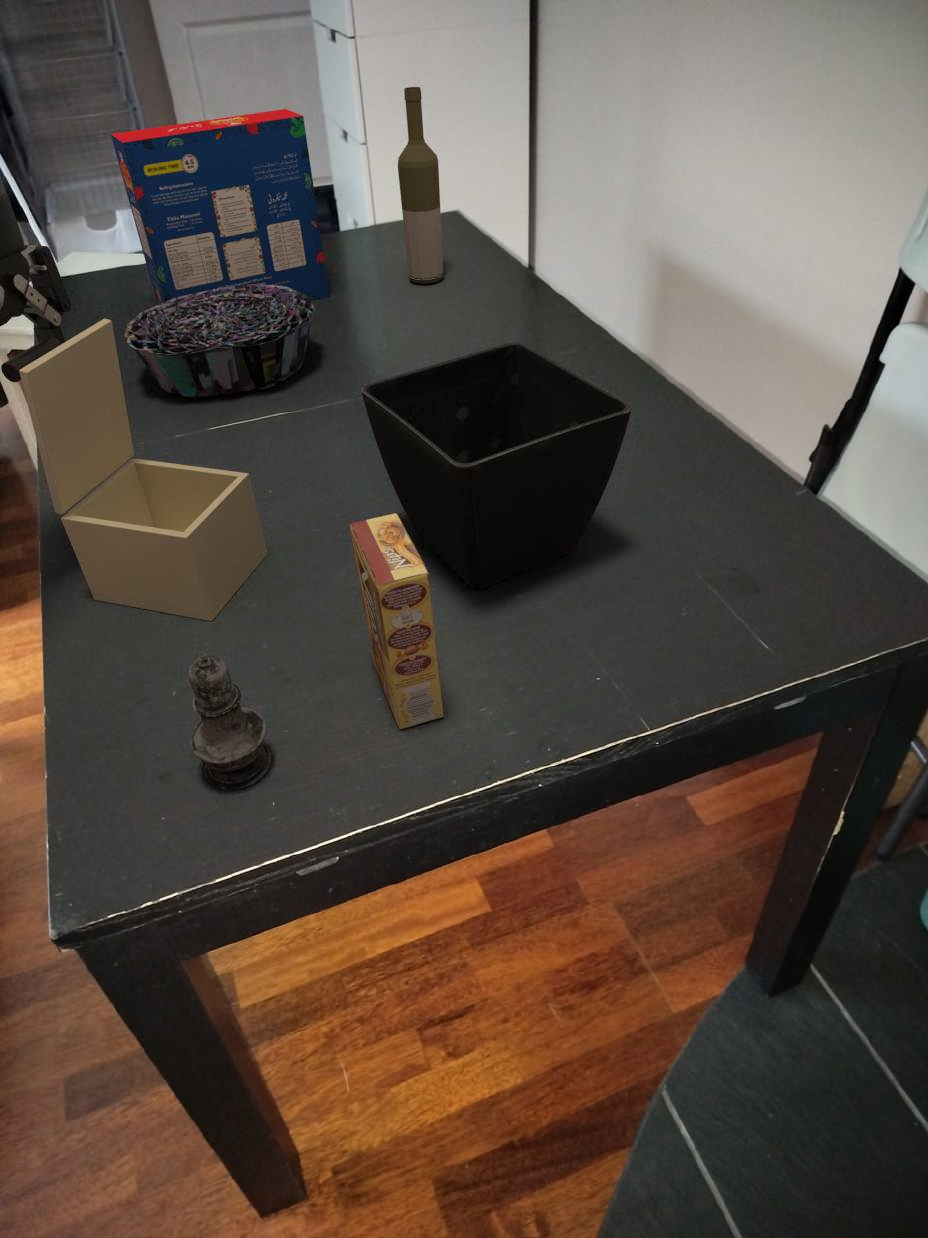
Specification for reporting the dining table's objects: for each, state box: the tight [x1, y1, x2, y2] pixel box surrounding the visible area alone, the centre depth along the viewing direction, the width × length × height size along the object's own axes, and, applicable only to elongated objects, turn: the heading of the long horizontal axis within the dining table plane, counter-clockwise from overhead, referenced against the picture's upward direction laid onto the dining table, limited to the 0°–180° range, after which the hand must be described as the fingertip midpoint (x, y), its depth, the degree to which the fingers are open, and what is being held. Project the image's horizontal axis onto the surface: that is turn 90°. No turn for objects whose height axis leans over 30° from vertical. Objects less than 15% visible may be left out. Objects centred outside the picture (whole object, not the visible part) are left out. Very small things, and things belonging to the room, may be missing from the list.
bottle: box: [397, 86, 444, 285], centre depth 146 cm, size 7×7×30 cm
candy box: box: [349, 512, 444, 730], centre depth 69 cm, size 9×4×15 cm, turn 20°
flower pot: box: [360, 341, 633, 589], centre depth 85 cm, size 19×19×17 cm
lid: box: [0, 318, 135, 515], centre depth 80 cm, size 14×12×5 cm
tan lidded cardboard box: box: [60, 457, 269, 622], centre depth 86 cm, size 14×12×10 cm
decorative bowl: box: [123, 284, 316, 399], centre depth 126 cm, size 26×28×10 cm
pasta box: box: [110, 108, 330, 305], centre depth 141 cm, size 28×8×28 cm, turn 119°
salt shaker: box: [187, 652, 272, 791], centre depth 65 cm, size 6×6×12 cm
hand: (29, 384), depth 79 cm, fingers open, 8 cm apart
